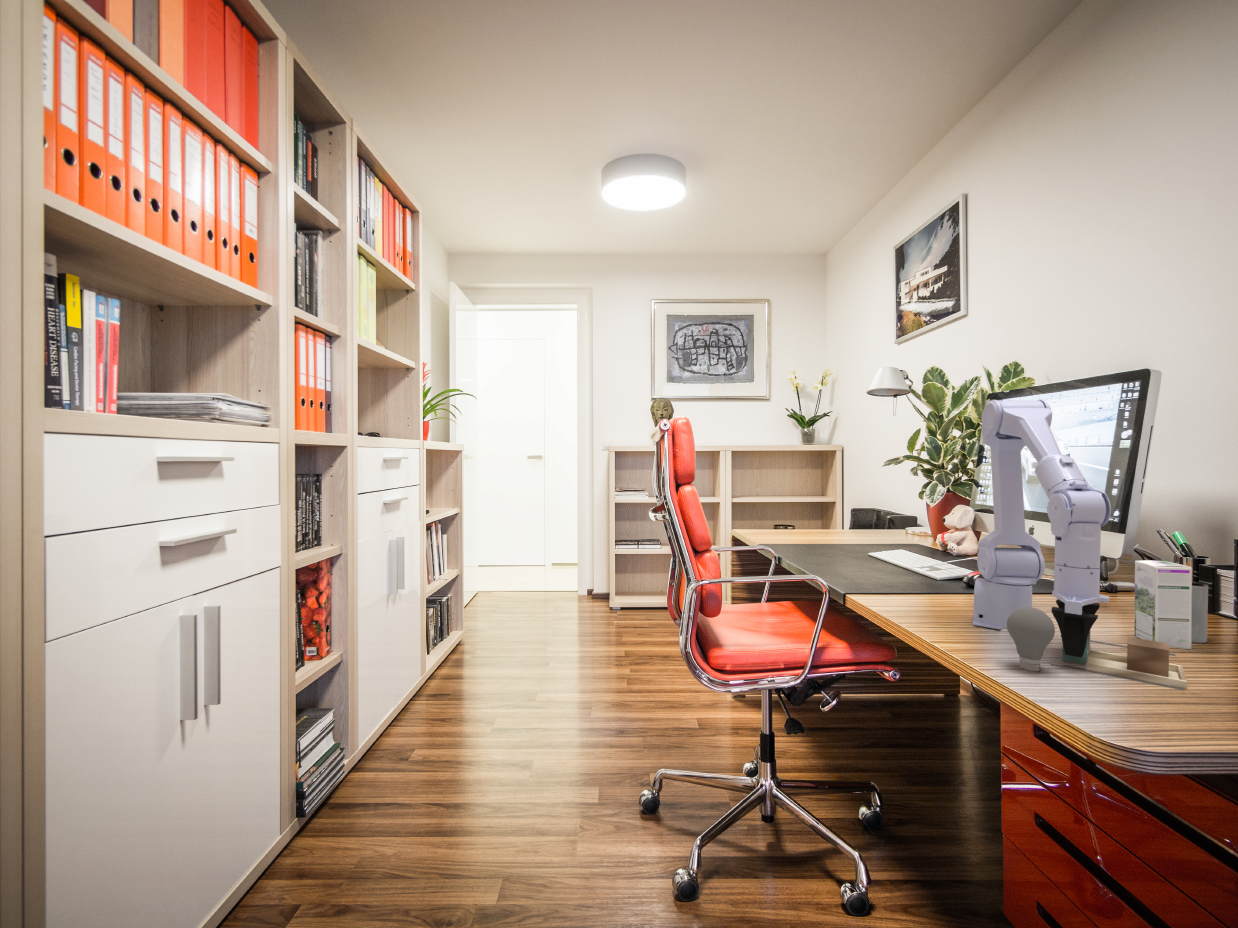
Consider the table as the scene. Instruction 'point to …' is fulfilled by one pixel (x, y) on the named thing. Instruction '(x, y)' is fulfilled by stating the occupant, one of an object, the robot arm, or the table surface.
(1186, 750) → the table surface
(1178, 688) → the lane rails
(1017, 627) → the light bulb
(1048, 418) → the robot arm
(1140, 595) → the syrup box
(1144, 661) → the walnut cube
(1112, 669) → the cream sliding tray
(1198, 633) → the grey cylinder
